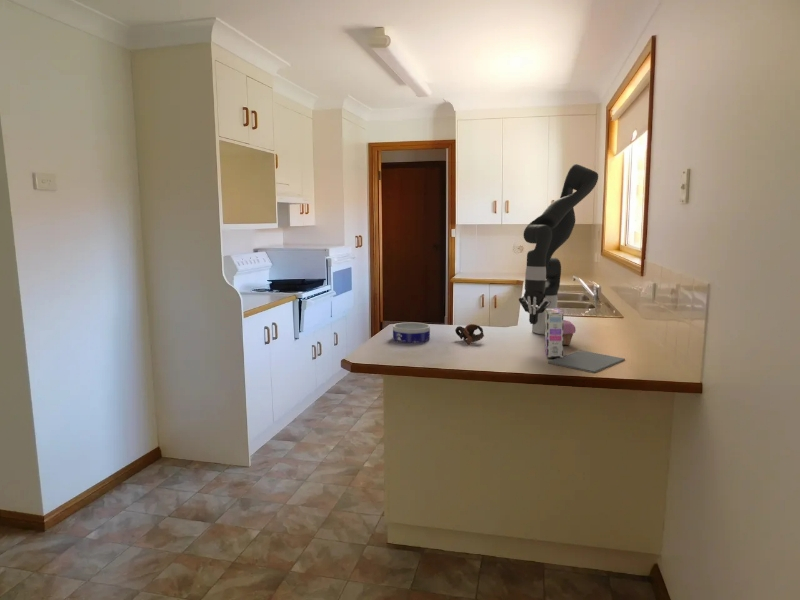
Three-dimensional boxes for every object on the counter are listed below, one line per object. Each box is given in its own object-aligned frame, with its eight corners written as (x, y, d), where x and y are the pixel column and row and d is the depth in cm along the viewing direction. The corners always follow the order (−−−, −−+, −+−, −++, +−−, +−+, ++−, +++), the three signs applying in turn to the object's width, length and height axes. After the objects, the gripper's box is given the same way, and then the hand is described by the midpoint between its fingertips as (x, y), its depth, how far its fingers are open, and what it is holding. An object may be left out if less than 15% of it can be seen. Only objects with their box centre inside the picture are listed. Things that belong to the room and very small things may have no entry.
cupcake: (568, 342, 226) (569, 318, 224) (578, 346, 217) (580, 322, 216) (547, 342, 224) (549, 318, 223) (557, 347, 216) (558, 322, 214)
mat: (548, 363, 193) (548, 361, 192) (580, 351, 209) (580, 350, 209) (594, 372, 181) (594, 371, 181) (624, 360, 198) (624, 358, 198)
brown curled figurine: (483, 340, 229) (487, 326, 224) (477, 355, 222) (481, 340, 217) (456, 331, 231) (459, 316, 226) (449, 345, 224) (452, 330, 219)
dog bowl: (386, 341, 224) (386, 326, 224) (403, 334, 238) (403, 320, 237) (419, 345, 217) (420, 330, 217) (435, 338, 231) (435, 324, 230)
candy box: (563, 358, 197) (563, 312, 195) (546, 357, 198) (546, 312, 196) (560, 350, 210) (560, 307, 208) (544, 350, 211) (544, 307, 210)
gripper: (514, 277, 208) (512, 322, 210) (546, 280, 199) (543, 327, 201) (525, 276, 213) (523, 320, 216) (556, 279, 204) (554, 325, 207)
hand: (533, 323), depth 209 cm, fingers closed
